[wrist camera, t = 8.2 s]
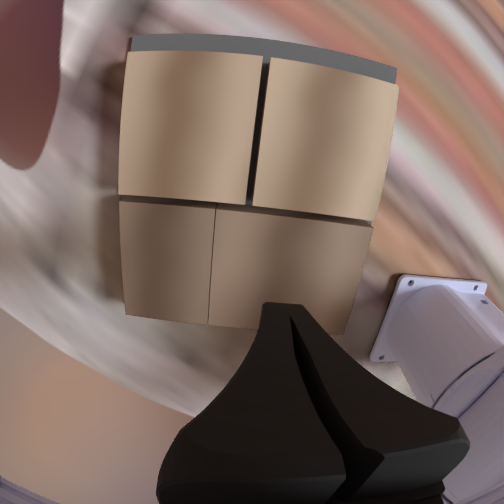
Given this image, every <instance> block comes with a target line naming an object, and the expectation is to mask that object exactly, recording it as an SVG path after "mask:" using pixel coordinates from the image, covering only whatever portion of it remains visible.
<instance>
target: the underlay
mask: <svg viewBox="0 0 504 504" xmlns="http://www.w3.org/2000/svg"><path fill="white" fill-rule="evenodd" d="M137 51H208V52H225V53H238V54H248V55H257V56H263V61H262V69H261V77H260V85H259V92H258V100H257V108H256V117H255V125H254V133H253V141H252V149H251V158H250V166H249V175H248V183H247V192H246V200H245V204H252V192H253V184H254V176H255V168H256V160H257V152H258V143H259V135H260V127H261V119H262V111H263V103H264V96H265V88H266V80H267V72H268V64H269V61H270V59H271V57H273V58H280V59H287V60H293V61H299V62H305V63H310V64H316V65H321V66H326V67H330V68H335V69H339V70H344V71H348V72H352V73H356V74H360V75H364V76H368V77H371V78H375V79H378V80H382V81H385V82H389V83H392V84H395V82H396V73H397V68H394V67H391V66H388V65H385V64H382V63H378V62H375V61H371V60H368V59H364V58H360V57H357V56H353V55H349V54H345V53H341V52H336V51H332V50H327V49H323V48H318V47H313V46H307V45H302V44H296V43H290V42H283V41H277V40H269V39H261V38H252V37H242V36H229V35H213V34H147V35H133V38H132V44H131V50H130V52H137ZM126 196H127V195H120V200H122V199H123V198H124V197H126ZM366 221H367V222H368V223H369V224H370V225H371V221H368V220H366Z"/></svg>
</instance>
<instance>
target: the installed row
mask: <svg viewBox="0 0 504 504" xmlns="http://www.w3.org/2000/svg"><path fill="white" fill-rule="evenodd" d="M119 223H120V250H121V267H122V281H123V293H124V303H125V313H126V315H132V316H139V317H146V318H153V319H161V320H169V321H177V322H185V323H193V324H202V325H207V324H208V325H212V326H222V327H232V328H244V329H256V330H258V329H259V323H260V316H261V310H262V304H264V303H265V302H276V303H289V304H302V305H303V306H304V307H305V308H306V309H307V311H308V312H309V313H310V314H311V315H312V317H313V318H314V319H315V320H316V321H317V322H318V323H319V325H320V326H321V327H322V328H323V329H324V330H325V331H326V332H327V334H343V333H344V330H345V327H346V324H347V321H348V318H349V315H350V312H351V308H352V305H353V302H354V299H355V295H356V292H357V288H358V285H359V282H360V278H361V275H362V271H363V267H364V264H365V260H366V256H367V252H368V249H369V245H370V241H371V237H372V233H373V229H374V228H373V227H372V226H371V225H370V224H369V223H368V222H367V221H366V220H362V219H355V218H347V217H340V216H333V215H325V214H318V213H310V212H302V211H294V210H286V209H277V208H268V207H259V206H252V204H245V205H241V204H231V203H221V202H210V201H199V200H188V199H176V198H163V197H150V196H136V195H127V196H126V197H124V198H123V199H122V200H120V201H119ZM208 318H209V319H208Z"/></svg>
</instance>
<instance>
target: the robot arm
mask: <svg viewBox="0 0 504 504" xmlns="http://www.w3.org/2000/svg"><path fill="white" fill-rule="evenodd" d="M410 280H412V281H411V283H410V284H408V282H409V281H410ZM486 289H487V284H486V283H485V282H484V281H475V280H463V279H452V278H440V277H429V276H417V275H406V274H405V275H402V276H400V277H399V279H398V281H397V284H396V287H395V290H394V293H393V296H392V299H391V302H390V305H389V307H388V310H387V313H386V316H385V318H384V321H383V324H382V326H381V329H380V331H379V334H378V337H377V339H376V342H375V344H374V346H373V349H372V351H371V354H370V359H371V361H372V362H392V361H397V363H398V364H399V366H400V368H401V370H402V372H403V374H404V376H405V378H406V380H407V382H408V384H409V386H410V388H411V390H412V392H413V394H414V396H415V398H416V400H417V401H415V400H413V399H411V398H409V397H407V396H405V395H404V394H402V393H400V392H398V391H397V390H395V389H393V388H392V387H390V386H389V385H387V384H386V383H384V382H382V381H381V380H380V379H378V378H377V377H375V376H374V375H373V374H371V373H370V372H369V371H367V370H366V369H365V368H364V367H362V366H361V365H360V364H359V363H357V362H356V361H355V360H354V359H353V358H352V357H350V356H349V355H348V354H347V353H346V352H345V351H344V350H343V349H342V348H341V347H340V346H339V345H338V344H337V343H336V342H335V341H334V340H333V339H332V338H331V337H330V336H329V335H328V334H327V332H326V331H325V330H324V329H323V328H322V327H321V326H320V325H319V323H318V322H317V321H316V320H315V319H314V318H313V317H312V315H311V314H310V313H309V312H308V311H307V309H306V308H305V307H304V306H303V305H302V304H289V303H276V302H265V303H264V304H262V310H261V316H260V323H259V329H258V332H257V335H256V337H255V340H254V342H253V344H252V346H251V348H250V350H249V352H248V354H247V356H246V357H245V359H244V361H243V362H242V364H241V366H240V367H239V369H238V370H237V372H236V373H235V374H234V376H233V377H232V378H231V380H230V381H229V383H228V384H227V385H226V386H225V388H224V389H223V390H222V391H221V392H220V393H219V394H218V395H217V397H216V398H215V399H214V400H213V401H212V402H211V403H210V404H209V405H208V406H207V407H206V408H205V409H204V410H203V411H202V412H201V413H200V414H198V415H197V416H196V417H195V418H194V419H193V420H191V422H189V423H188V424H187V425H185V426H184V427H183V428H182V429H181V430H180V431H179V433H178V434H177V436H176V438H175V439H174V441H173V443H172V444H171V446H170V448H169V450H168V452H167V454H166V456H165V458H164V460H163V463H162V465H161V468H160V471H159V475H158V482H157V489H156V496H157V499H158V501H159V504H504V313H503V312H502V311H501V310H500V309H498V308H497V307H496V306H495V305H494V304H493V303H492V302H491V301H490V300H489V299H488V298H487V297H486V296H485V295H484V293H485V291H486ZM380 356H381V357H380ZM0 504H59V503H57V502H55V501H52V500H49V499H47V498H45V497H43V496H40V495H38V494H36V493H33V492H31V491H29V490H27V489H25V488H23V487H20V486H18V485H16V484H14V483H12V482H10V481H8V480H6V479H5V478H3V477H1V476H0Z"/></svg>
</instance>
